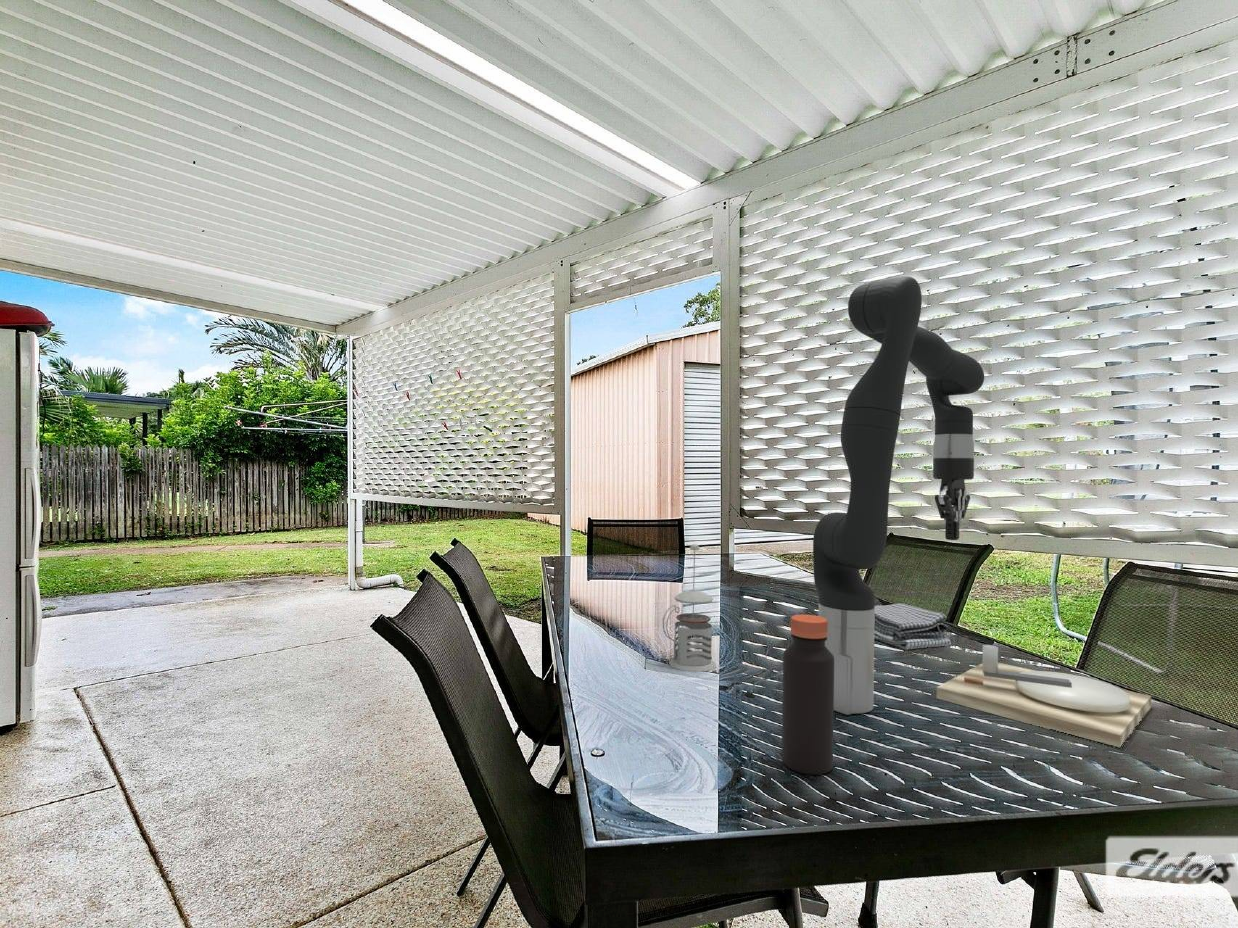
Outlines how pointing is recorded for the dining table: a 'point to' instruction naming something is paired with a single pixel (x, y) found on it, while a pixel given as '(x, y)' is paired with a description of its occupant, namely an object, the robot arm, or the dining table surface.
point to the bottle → (808, 698)
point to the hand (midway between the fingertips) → (952, 539)
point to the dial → (1060, 687)
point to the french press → (692, 632)
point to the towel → (909, 626)
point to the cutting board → (1041, 707)
